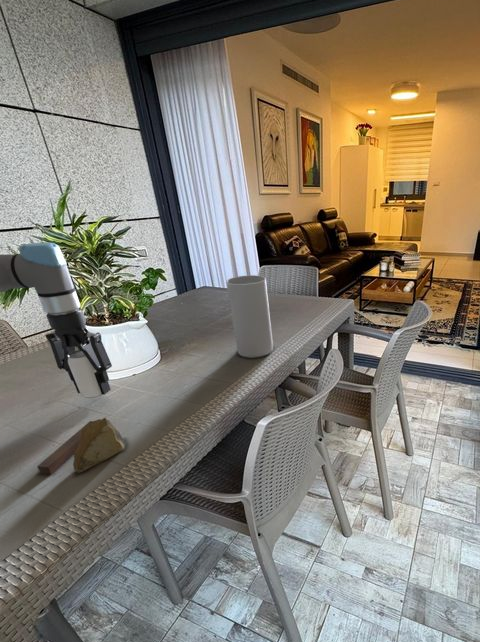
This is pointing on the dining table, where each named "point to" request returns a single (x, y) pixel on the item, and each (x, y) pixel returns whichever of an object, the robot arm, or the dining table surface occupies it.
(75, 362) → the can
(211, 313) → the dining table surface
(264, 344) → the cylinder vase
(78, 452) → the rock
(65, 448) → the walnut stick
